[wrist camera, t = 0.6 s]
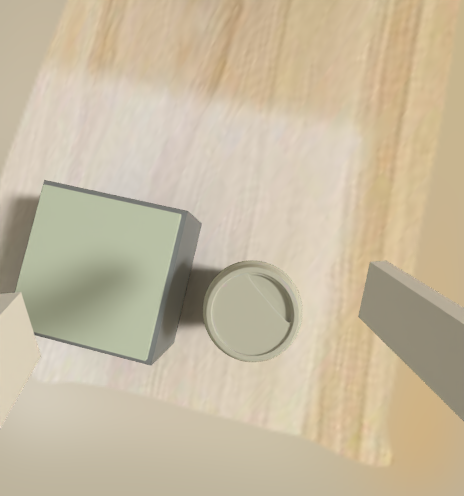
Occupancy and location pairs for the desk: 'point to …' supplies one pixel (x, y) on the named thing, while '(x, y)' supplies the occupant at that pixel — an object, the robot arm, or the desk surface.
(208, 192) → the desk surface
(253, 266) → the coffee cup
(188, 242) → the block
